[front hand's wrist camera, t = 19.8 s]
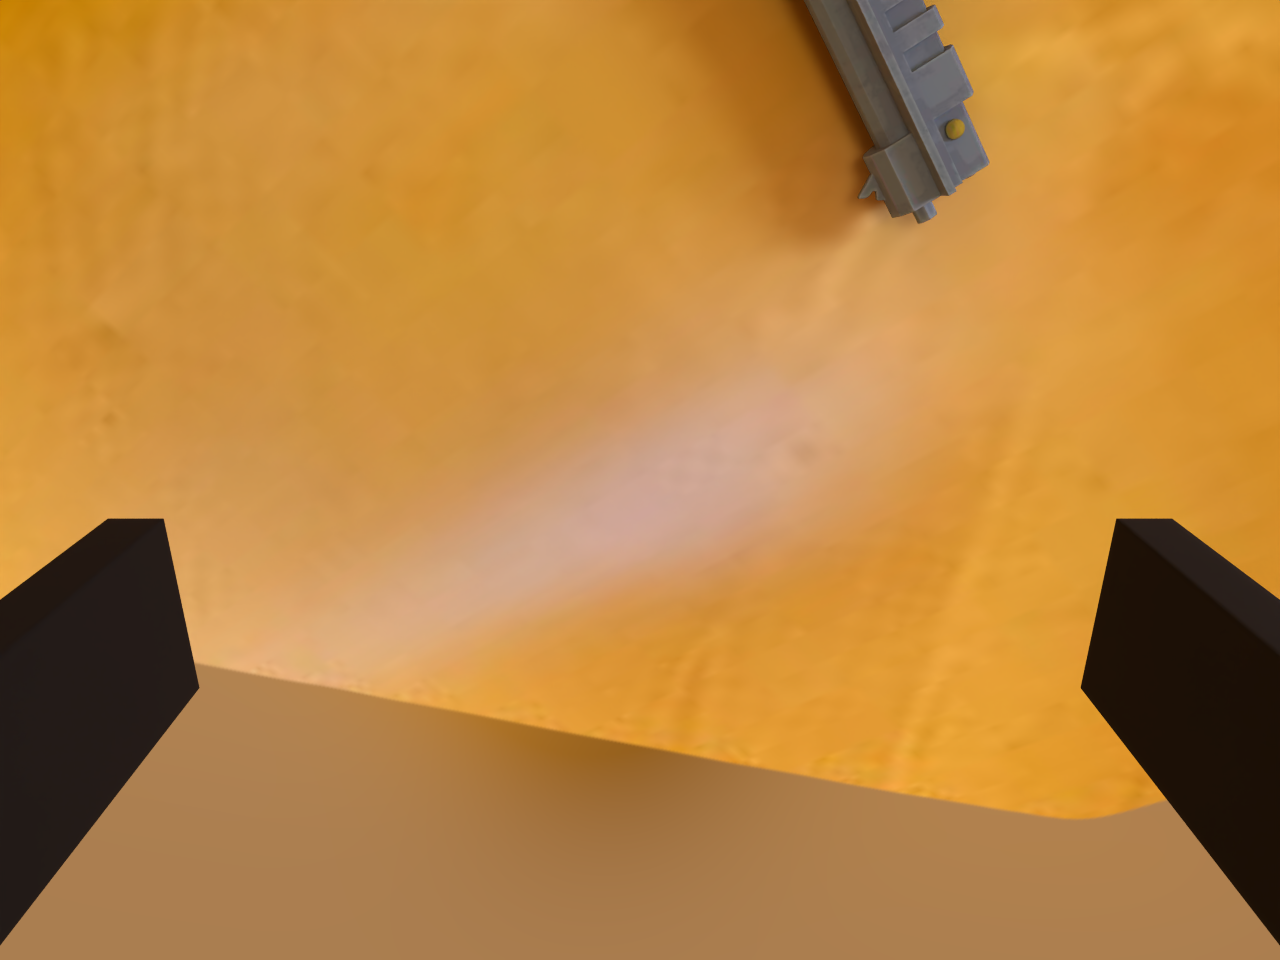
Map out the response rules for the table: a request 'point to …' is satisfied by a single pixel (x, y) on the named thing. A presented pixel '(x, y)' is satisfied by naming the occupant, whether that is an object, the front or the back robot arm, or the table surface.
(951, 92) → the toy gun
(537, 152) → the table surface
